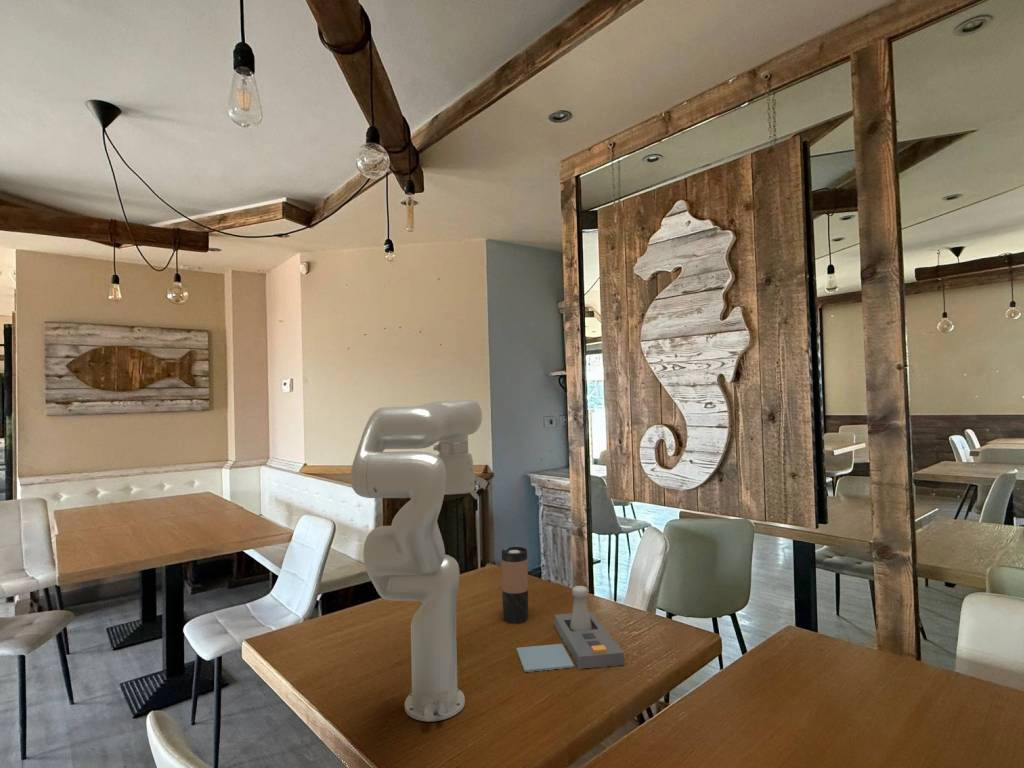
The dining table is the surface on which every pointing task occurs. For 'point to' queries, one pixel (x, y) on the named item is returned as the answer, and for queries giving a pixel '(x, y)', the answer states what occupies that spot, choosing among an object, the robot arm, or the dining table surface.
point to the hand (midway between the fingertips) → (455, 515)
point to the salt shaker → (580, 610)
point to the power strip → (589, 643)
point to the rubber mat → (544, 657)
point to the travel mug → (515, 585)
